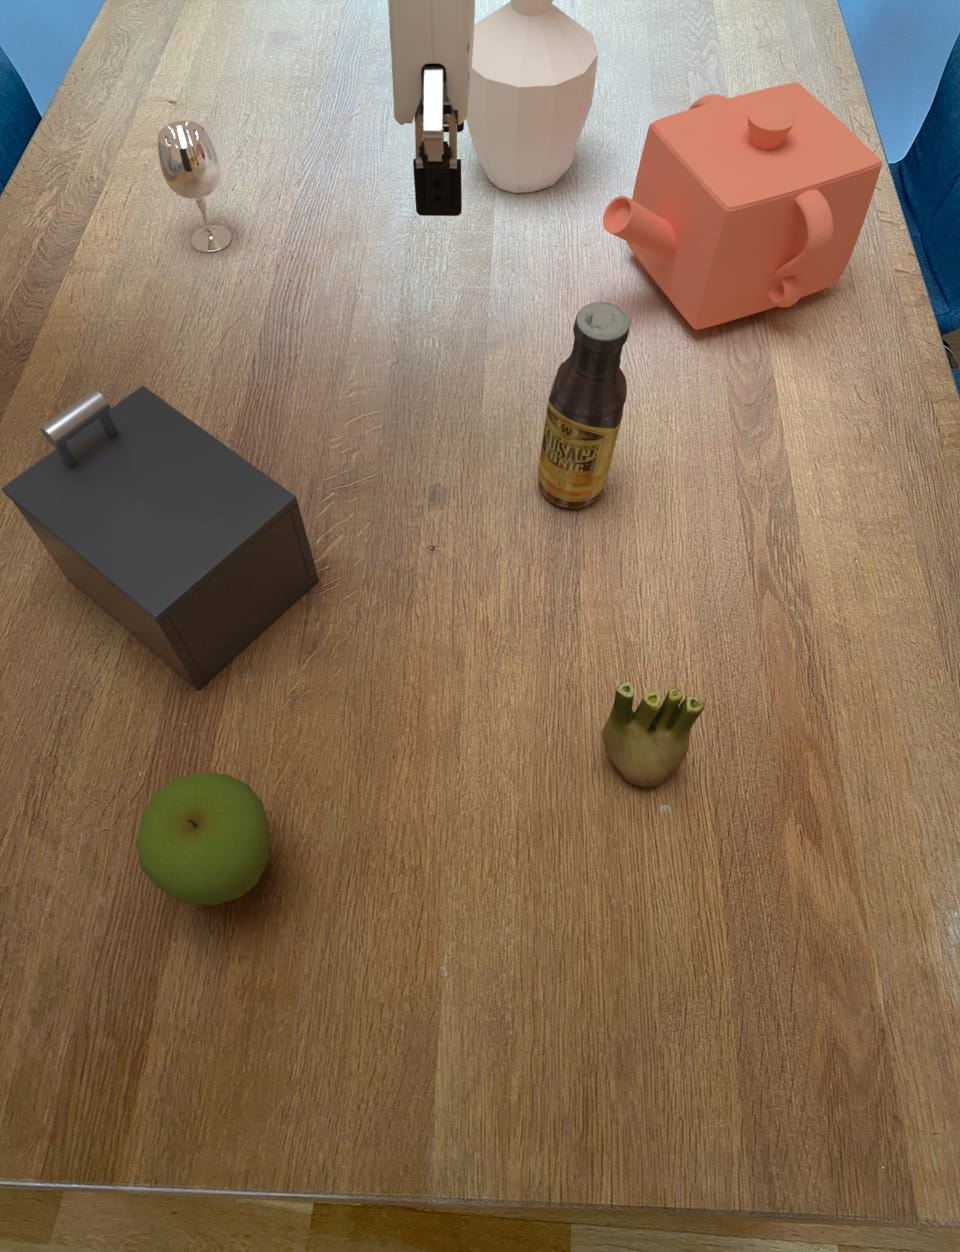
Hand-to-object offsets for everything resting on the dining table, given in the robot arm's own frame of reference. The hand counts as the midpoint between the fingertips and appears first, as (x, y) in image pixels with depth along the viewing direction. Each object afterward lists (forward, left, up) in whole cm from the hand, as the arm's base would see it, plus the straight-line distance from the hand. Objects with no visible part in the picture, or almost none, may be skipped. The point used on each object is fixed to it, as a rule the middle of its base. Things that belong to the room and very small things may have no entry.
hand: (441, 170), depth 69 cm
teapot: (+9, +30, -25) cm, 40 cm away
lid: (-5, -29, -14) cm, 33 cm away
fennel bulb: (+35, -18, -25) cm, 47 cm away
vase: (-17, +33, -25) cm, 45 cm away
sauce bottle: (+15, 0, -25) cm, 29 cm away
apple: (+17, -44, -25) cm, 54 cm away
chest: (-4, -29, -25) cm, 39 cm away
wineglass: (-36, +2, -25) cm, 44 cm away
